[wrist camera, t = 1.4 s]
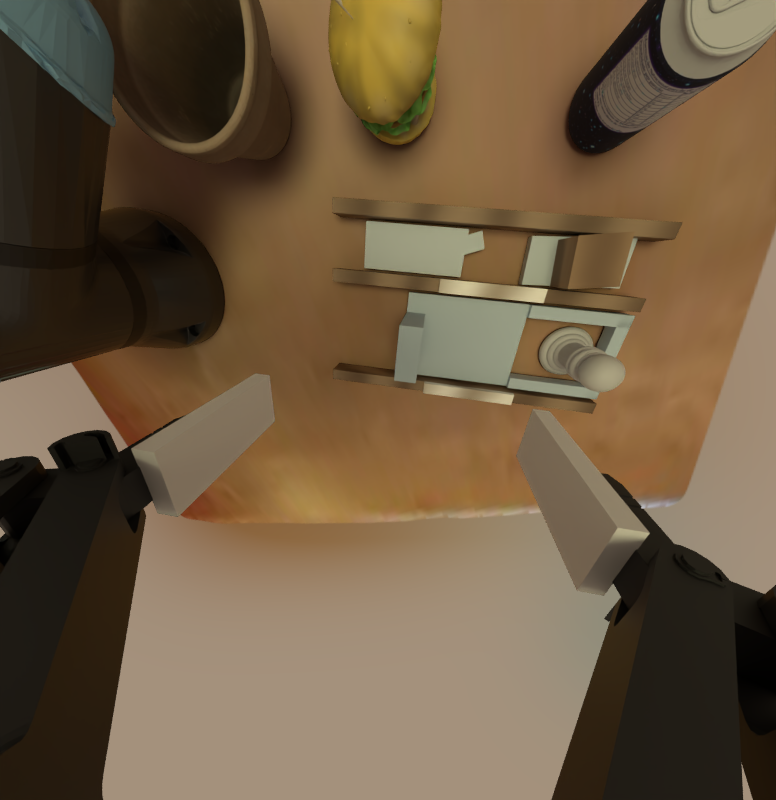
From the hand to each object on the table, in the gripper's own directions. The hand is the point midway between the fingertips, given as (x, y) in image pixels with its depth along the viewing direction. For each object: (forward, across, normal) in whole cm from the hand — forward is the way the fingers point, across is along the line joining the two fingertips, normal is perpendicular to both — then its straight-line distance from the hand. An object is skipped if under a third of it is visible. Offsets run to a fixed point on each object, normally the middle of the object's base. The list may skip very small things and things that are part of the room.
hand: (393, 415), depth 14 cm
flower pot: (+21, -17, +18) cm, 33 cm away
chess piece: (+21, +17, 0) cm, 27 cm away
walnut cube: (+19, +14, +8) cm, 25 cm away
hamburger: (+21, -4, +19) cm, 29 cm away
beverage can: (+21, +13, +19) cm, 31 cm away
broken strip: (+20, +7, +8) cm, 23 cm away
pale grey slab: (+20, +10, 0) cm, 23 cm away
